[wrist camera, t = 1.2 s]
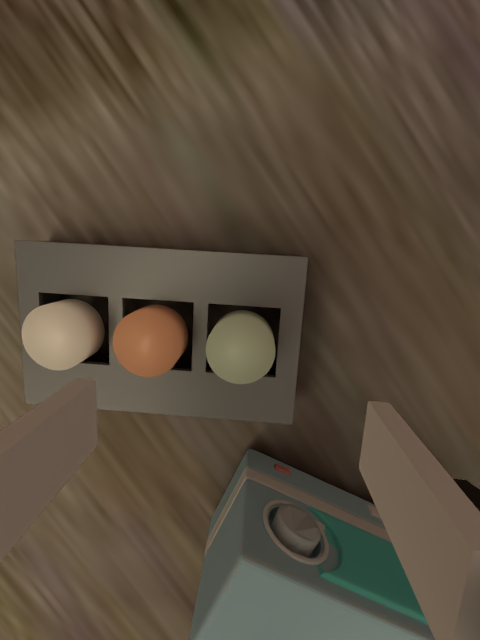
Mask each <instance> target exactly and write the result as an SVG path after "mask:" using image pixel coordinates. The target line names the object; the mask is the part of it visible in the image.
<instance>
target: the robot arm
mask: <svg viewBox="0 0 480 640" xmlns="http://www.w3.org/2000/svg"><path fill="white" fill-rule="evenodd" d="M96 446H97V404H96V380H95V379H82V378H76V379H74V380H73V381H71V382H70V383H69V384H67V385H66V386H64V387H63V388H61V389H60V390H59V391H57V392H56V393H54V394H53V395H51V396H50V397H49V398H47V399H46V400H44V401H43V402H42V403H40V404H39V405H37V406H36V407H34V408H33V409H32V410H30V411H29V412H27V413H26V414H24V415H23V416H22V417H20V418H19V419H17V420H16V421H14V422H13V423H12V424H10V425H9V426H7V427H6V428H5V429H3V430H2V431H0V562H1V561H2V560H3V558H4V557H5V556H6V555H7V554H8V552H9V551H10V550H11V549H12V548H13V546H14V545H15V544H16V543H17V542H18V540H19V539H20V538H21V537H22V535H23V534H24V533H25V532H26V531H27V529H28V528H29V527H30V526H31V525H32V523H33V522H34V521H35V520H36V519H37V517H38V516H39V515H40V514H41V513H42V511H43V510H44V509H45V508H46V507H47V505H48V504H49V503H50V502H51V501H52V499H53V498H54V497H55V496H56V495H57V493H58V492H59V491H60V490H61V489H62V487H63V486H64V485H65V484H66V482H67V481H68V480H69V479H70V478H71V476H72V475H73V474H74V473H75V472H76V470H77V469H78V468H79V467H80V466H81V464H82V463H83V462H84V461H85V460H86V458H87V457H88V456H89V455H90V454H91V452H92V451H93V450H94V449H95V448H96ZM359 470H360V472H361V474H362V477H363V479H364V481H365V483H366V486H367V488H368V490H369V492H370V495H371V497H372V499H373V501H374V504H375V506H376V508H377V510H378V513H379V515H380V517H381V519H382V522H383V524H384V526H385V528H386V531H387V533H388V535H389V537H390V540H391V542H392V544H393V546H394V549H395V551H396V553H397V555H398V558H399V560H400V562H401V564H402V567H403V569H404V571H405V573H406V576H407V578H408V580H409V582H410V585H411V587H412V589H413V591H414V594H415V596H416V598H417V600H418V603H419V605H420V607H421V609H422V612H423V614H424V616H425V618H426V621H427V623H428V625H429V627H430V630H431V632H432V634H433V636H434V639H435V640H480V490H479V489H478V488H476V487H475V486H474V485H472V484H471V483H469V482H468V481H466V480H459V479H452V478H451V476H450V475H449V474H448V473H447V472H446V470H445V469H444V468H443V467H442V466H441V464H440V463H439V462H438V461H437V460H436V458H435V457H434V456H433V455H432V454H431V452H430V451H429V450H428V449H427V448H426V446H425V445H424V444H423V443H422V442H421V440H420V439H419V438H418V437H417V435H416V434H415V433H414V432H413V431H412V429H411V428H410V427H409V426H408V425H407V423H406V422H405V421H404V420H403V419H402V417H401V416H400V415H399V414H398V413H397V411H396V410H395V409H394V408H393V407H392V405H391V404H390V403H389V402H376V401H368V405H367V412H366V419H365V426H364V433H363V440H362V447H361V455H360V462H359Z"/></svg>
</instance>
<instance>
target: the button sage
mask: <svg viewBox="0 0 480 640" xmlns="http://www.w3.org/2000/svg"><path fill="white" fill-rule="evenodd" d="M206 358H207V361H208V363H209V365H210V367H211V369H212V370H213V371H214V373H215V374H216V375H218V376H219V377H220V378H221V379H223V380H225V381H227V382H230V383H234V384H248V383H252V382H255V381H257V380H259V379H260V378H262V377H263V376H264V375H265V374H267V372H268V371H269V370H270V368H271V367H272V364H273V362H274V359H275V342H274V336H273V332H272V329H271V327H270V325H269V324H268V322H267V321H266V320H265V319H264V318H263V317H261V316H260V315H258V314H257V313H254V312H252V311H247V310H237V311H233V312H230V313H228V314H226V315H224V316H223V317H222V318H221V319H220V320H219V321H218V322H217V323H216V325H215V326H214V328H213V330H212V331H211V333H210V335H209V337H208V339H207V343H206Z"/></svg>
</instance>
